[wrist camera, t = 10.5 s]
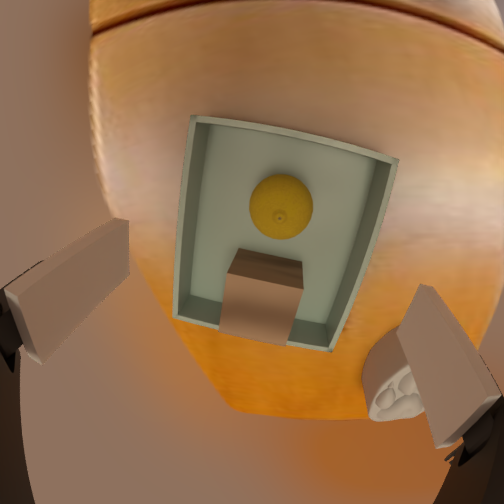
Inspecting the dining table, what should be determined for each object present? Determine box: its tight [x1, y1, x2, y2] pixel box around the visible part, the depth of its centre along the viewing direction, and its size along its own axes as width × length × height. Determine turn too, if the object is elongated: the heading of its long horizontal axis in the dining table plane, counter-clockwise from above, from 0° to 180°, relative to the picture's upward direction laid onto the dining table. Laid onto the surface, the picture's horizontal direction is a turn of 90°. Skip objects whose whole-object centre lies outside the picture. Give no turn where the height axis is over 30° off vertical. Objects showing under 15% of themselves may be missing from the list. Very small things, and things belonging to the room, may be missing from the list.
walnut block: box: [218, 248, 304, 346], centre depth 29 cm, size 7×7×6 cm
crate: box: [173, 115, 399, 352], centre depth 28 cm, size 21×18×5 cm
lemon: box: [249, 174, 313, 240], centre depth 24 cm, size 6×6×8 cm
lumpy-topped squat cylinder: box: [362, 326, 425, 421], centre depth 31 cm, size 10×13×9 cm
